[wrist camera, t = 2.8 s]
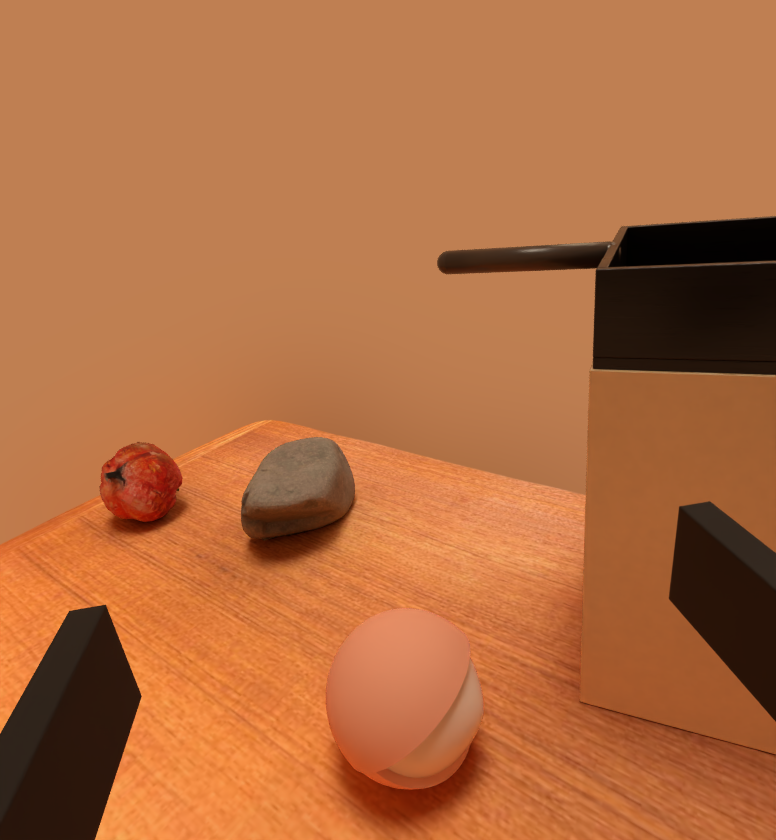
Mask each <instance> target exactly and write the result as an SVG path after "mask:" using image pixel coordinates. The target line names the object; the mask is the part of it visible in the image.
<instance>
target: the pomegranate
mask: <svg viewBox="0 0 776 840" xmlns="http://www.w3.org/2000/svg"><path fill="white" fill-rule="evenodd" d="M101 482H102V483H101V485H100V494H101V497H102V500H103V502H104V504H105V506H106V507H107V509H108V510H109V511H111V512H112V513H113V514H114V515H116V516H117V517H119V518H122V519H136V520H139V521H143V522H149V521H154V520H157V519H160V518H161V517H163V516H165V515H166V514H167V513H168V512H169V510H170V509H171V508H172V507H173V506H174V505H175V503H176V496H175V493H176V491H179V489H178V488H179V487H180V486H181V484H182V475H181V473H180V470H179V468H178V466H177V464H176V463H175V462H174V461H173V459H172V458H170V456H168V454H167V453H165V452H164V451H162V450H161V449H159V448H158V447H156V446H155V445H153V444H149V443H140V442H137V443H136V444H131V445H128V446H126V447H123V448H122V449H120V450H119V451H118V452H117V453H116V455H115V456H114V457H113V458H112V459H111V460H109V461H107V462H106V463H105V464H104V465H103V467H102V473H101Z"/></svg>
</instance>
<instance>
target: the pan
mask: <svg viewBox="0 0 776 840" xmlns="http://www.w3.org/2000/svg"><path fill="white" fill-rule="evenodd" d="M437 265H438V268H439V270H440V271H441V272H442V273H445V274H465V273H489V272H490V273H491V272H515V271H541V270H565V269H590V268H597V269H596V281H595V311H594V312H595V313H594V341H593V369H611V370H643V371H675V372H707V373H739V374H771V375H776V216H770V217H755V218H740V219H726V220H712V221H697V222H682V223H667V224H653V225H638V226H624V227H621V228H620V230H619V231H618V233H617V235H616V236H615V238H614V240H613V242H594V243H577V244H560V245H542V246H526V247H508V248H492V249H474V250H457V251H446V252H443V253H442V254H441V255H440V256H439V258H438V261H437Z"/></svg>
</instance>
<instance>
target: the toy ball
mask: <svg viewBox="0 0 776 840" xmlns="http://www.w3.org/2000/svg"><path fill="white" fill-rule="evenodd" d="M326 710H327V716H328V721H329V725H330V728H331V731H332V734H333V737H334V739H335V741H336V743H337V745H338V747H339V749H340V751H341V752H342V754H343V755H344V757H345V758H346V759H347V761H348V762H349V763H350V764H351V766H352V767H353V768H354V769H355V770H356V771H358V772H361V773H363V774H365V775H366V776H367V777H369V778H371V779H372V780H374V781H376V782H378V783H380V784H383V785H386V786H389V787H393V788H397V789H422V788H428V787H432V786H435V785H438V784H440V783H442V782H444V781H445V780H447V779H448V778H449V777H451V776H452V775H453V774H454V773H455V772H456V771H457V769H458V768H459V767H460V766H461V764H462V762H463V761H464V759H465V757H466V755H467V753H468V750H469V747H470V744H471V742H472V740H473V739H474V737H475V735H476V733H477V732H478V729H479V727H480V725H481V722H482V719H483V714H484V699H483V693H482V688H481V684H480V680H479V677H478V674H477V671H476V668H475V666H474V663H473V661H472V659H471V657H470V643H469V640H468V638H467V636H466V635H465V633H464V632H462V631H461V630H460V629H459V628H458V627H456V626H455V625H454V624H452V623H451V622H450V621H448V620H446V619H445V618H443V617H441V616H439V615H437V614H434V613H432V612H429V611H425V610H421V609H414V608H399V609H392V610H388V611H384V612H382V613H379V614H376V615H374V616H372V617H370V618H369V619H367V620H365V621H364V622H363V623H361V624H360V625H359V626H357V627H356V628H355V629H354V630H353V631H352V632H351V633H350V634H349V635H348V636H347V638H346V639H345V640H344V642H343V643H342V645H341V646H340V648H339V649H338V651H337V653H336V655H335V657H334V660H333V662H332V665H331V668H330V671H329V675H328V680H327V687H326Z"/></svg>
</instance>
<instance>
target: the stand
mask: <svg viewBox="0 0 776 840" xmlns="http://www.w3.org/2000/svg"><path fill="white" fill-rule="evenodd" d="M589 376H590V377H589V408H588V440H587V472H586V504H585V537H584V569H583V601H582V633H581V666H580V698H579V701H580V702H583V703H587V704H590V705H594V706H598V707H602V708H605V709H609V710H613V711H616V712H620V713H624V714H628V715H631V716H635V717H639V718H642V719H646V720H650V721H653V722H657V723H661V724H665V725H668V726H672V727H676V728H679V729H683V730H687V731H691V732H694V733H698V734H702V735H705V736H709V737H713V738H716V739H720V740H724V741H728V742H731V743H735V744H739V745H742V746H746V747H750V748H754V749H757V750H761V751H765V752H768V753H772V754H776V722H775V720H774V719H773V718H772V717H771V716H770V715H769V714H768V712H767V711H766V710H765V709H764V708H763V707H762V706H761V704H760V703H759V702H758V701H757V700H756V699H755V697H754V696H753V695H752V694H751V693H750V692H749V691H748V689H747V688H746V687H745V686H744V685H743V684H742V683H741V681H740V680H739V679H738V678H737V677H736V676H735V675H734V673H733V672H732V671H731V670H730V669H729V668H728V666H727V665H726V664H725V663H724V662H723V661H722V660H721V658H720V657H719V656H718V655H717V654H716V653H715V652H714V650H713V649H712V648H711V647H710V646H709V645H708V644H707V642H706V641H705V640H704V639H703V638H702V637H701V636H700V634H699V633H698V632H697V631H696V630H695V629H694V627H693V626H692V625H691V624H690V623H689V622H688V621H687V619H686V618H685V617H684V616H683V615H682V614H681V613H680V611H679V610H678V609H677V608H676V607H675V606H674V605H673V603H672V602H671V601H670V600H669V591H670V582H671V574H672V565H673V556H674V547H675V538H676V530H677V521H678V512H679V506H685V505H691V504H697V503H702V502H708V501H710V502H712V503H713V504H714V505H715V506H717V507H718V508H719V509H720V510H722V511H723V512H724V513H726V514H727V515H728V516H729V517H731V518H732V519H733V520H734V521H736V522H737V523H738V524H740V525H741V526H742V527H743V528H745V529H746V530H747V531H748V532H750V533H751V534H752V535H753V536H755V537H756V538H757V539H759V540H760V541H761V542H762V543H764V544H765V545H766V546H767V547H769V548H770V549H771V550H773V551H774V552H775V553H776V375H771V374H739V373H707V372H675V371H643V370H611V369H593V363H592V366H591V369H590V375H589Z"/></svg>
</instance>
